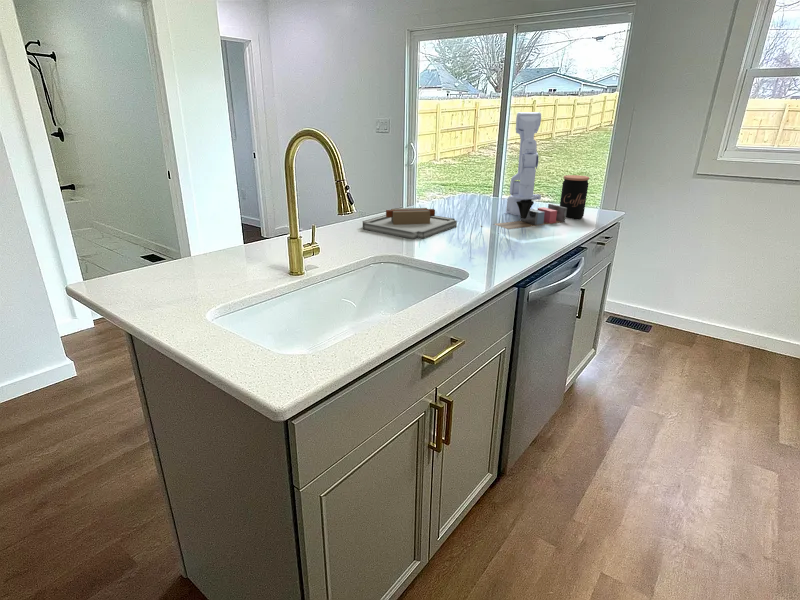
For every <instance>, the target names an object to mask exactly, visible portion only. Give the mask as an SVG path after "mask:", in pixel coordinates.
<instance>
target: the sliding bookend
mask: <svg viewBox="0 0 800 600" xmlns="http://www.w3.org/2000/svg"><path fill="white" fill-rule="evenodd" d="M537 218H538V212H535V211H532V210H529V212H528V215H527V217H526V219H523V218H521V217H520V221H523V222H527V223H530V224H533V225H537Z"/></svg>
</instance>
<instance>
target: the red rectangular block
mask: <svg viewBox="0 0 800 600" xmlns="http://www.w3.org/2000/svg"><path fill="white" fill-rule="evenodd" d="M537 210H539V211H542V212H545V214H544V222H547V223H554V224H557V223H556V216H557V211H556V210H553V209H549V208H548V207H544V206H543V207H537Z"/></svg>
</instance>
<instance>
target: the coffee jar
mask: <svg viewBox="0 0 800 600" xmlns="http://www.w3.org/2000/svg"><path fill="white" fill-rule="evenodd" d="M589 181H590V177H589V176H586V175H581V174H580V175H578V174H573V175H572V174H569V175H568V174H567V175H563V182H562V184H561V185H562V186H561V193H560V202H559V206H561V207H565V208H567V212H566V218H567V219H571V220H574V221H577V220H578V221H579V220H581V219H582V218H584V214H585V209H586V201H587V196H588V190H589Z"/></svg>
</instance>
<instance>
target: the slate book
mask: <svg viewBox="0 0 800 600" xmlns="http://www.w3.org/2000/svg"><path fill="white" fill-rule="evenodd" d="M530 210H532V211H535V212H538V218H537V225H539V226H541V225H540V224H543V222H544V214H545V212H542V211H539V210H538V209H536V208H535V209H534V208H530Z"/></svg>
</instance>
